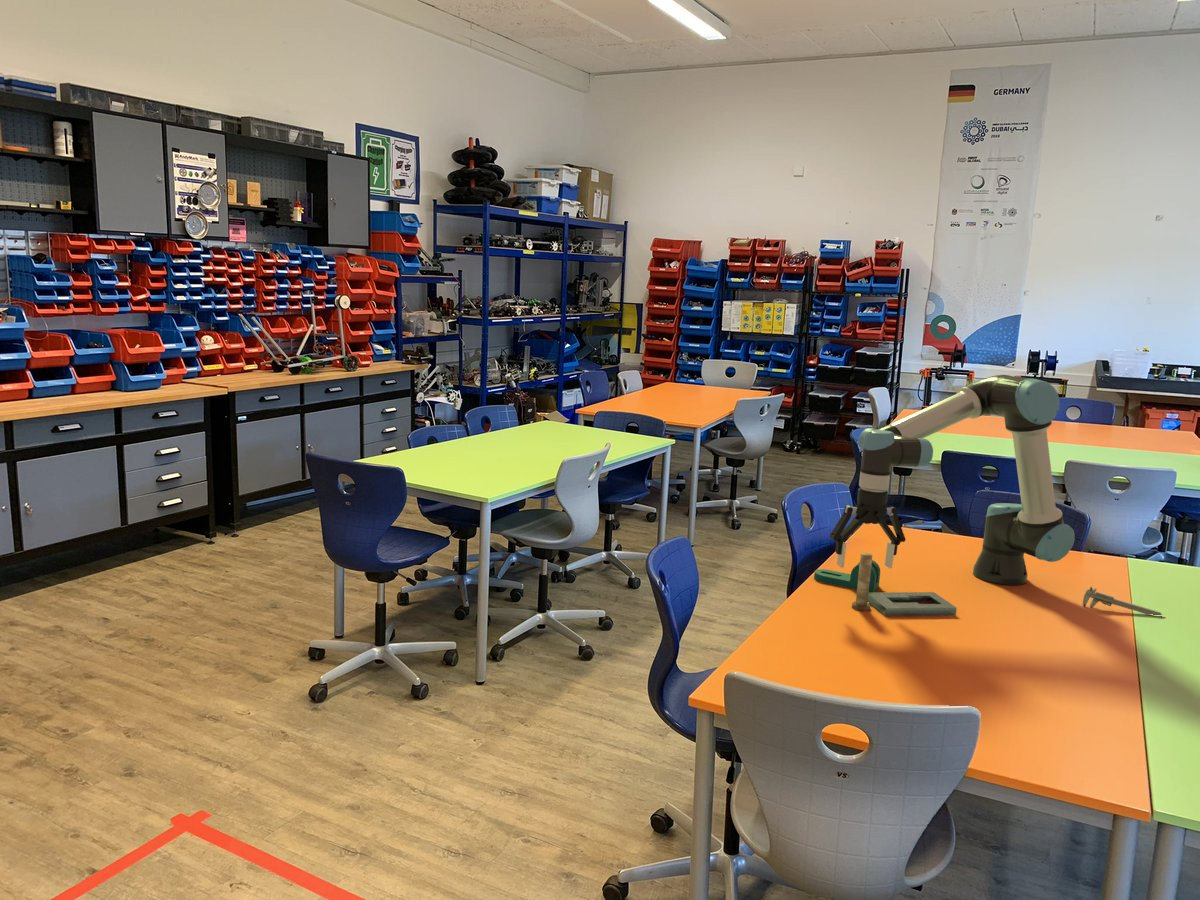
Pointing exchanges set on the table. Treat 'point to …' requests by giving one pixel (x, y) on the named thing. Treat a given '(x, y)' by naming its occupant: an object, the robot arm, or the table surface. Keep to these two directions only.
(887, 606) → the keyhole plate
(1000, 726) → the table surface
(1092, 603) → the caliper
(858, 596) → the peg
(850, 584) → the bracket
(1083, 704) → the table surface
